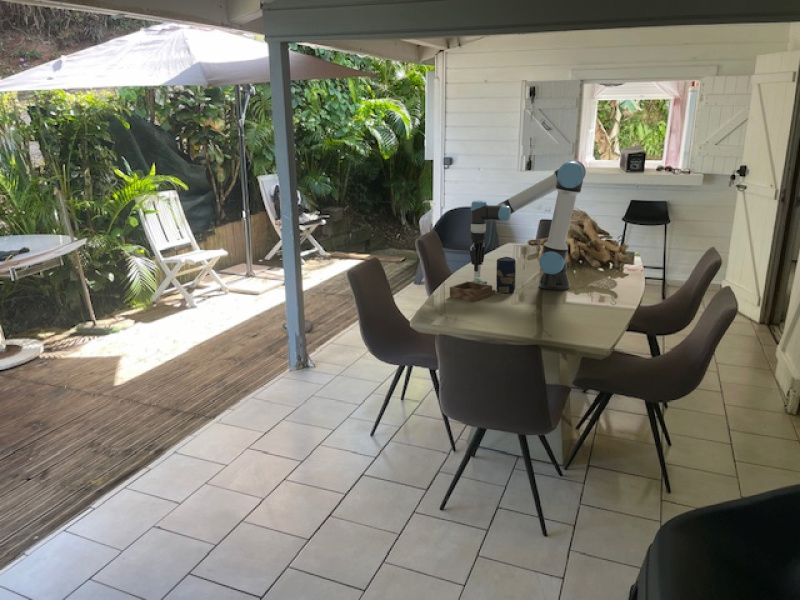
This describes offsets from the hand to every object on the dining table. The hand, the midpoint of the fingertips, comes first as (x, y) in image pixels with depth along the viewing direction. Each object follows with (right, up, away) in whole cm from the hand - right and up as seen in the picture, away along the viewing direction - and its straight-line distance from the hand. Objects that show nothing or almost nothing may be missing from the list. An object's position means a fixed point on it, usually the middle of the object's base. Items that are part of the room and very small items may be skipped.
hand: (477, 277), depth 315 cm
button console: (0, -6, +1) cm, 6 cm away
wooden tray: (-4, -10, -12) cm, 16 cm away
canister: (+14, -8, -6) cm, 17 cm away
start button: (0, -4, +1) cm, 4 cm away
